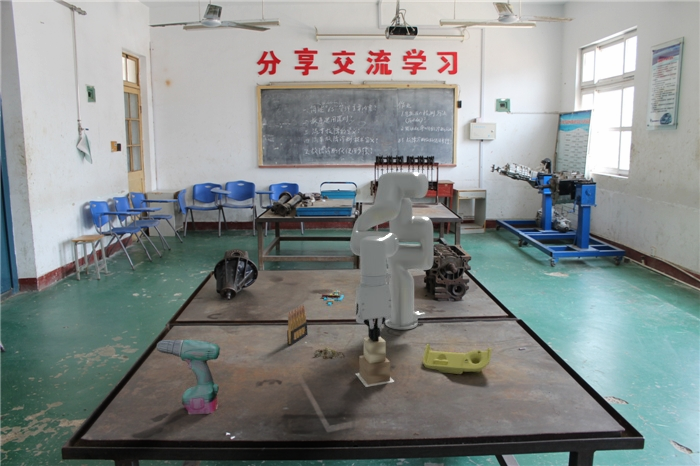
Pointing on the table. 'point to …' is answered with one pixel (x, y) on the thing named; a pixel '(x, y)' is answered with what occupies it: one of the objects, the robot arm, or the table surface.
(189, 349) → the power drill
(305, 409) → the table surface
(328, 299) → the gear mechanism
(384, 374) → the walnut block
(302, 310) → the ammunition clip
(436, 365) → the plastic component
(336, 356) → the mineral rock
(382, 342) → the maple block
